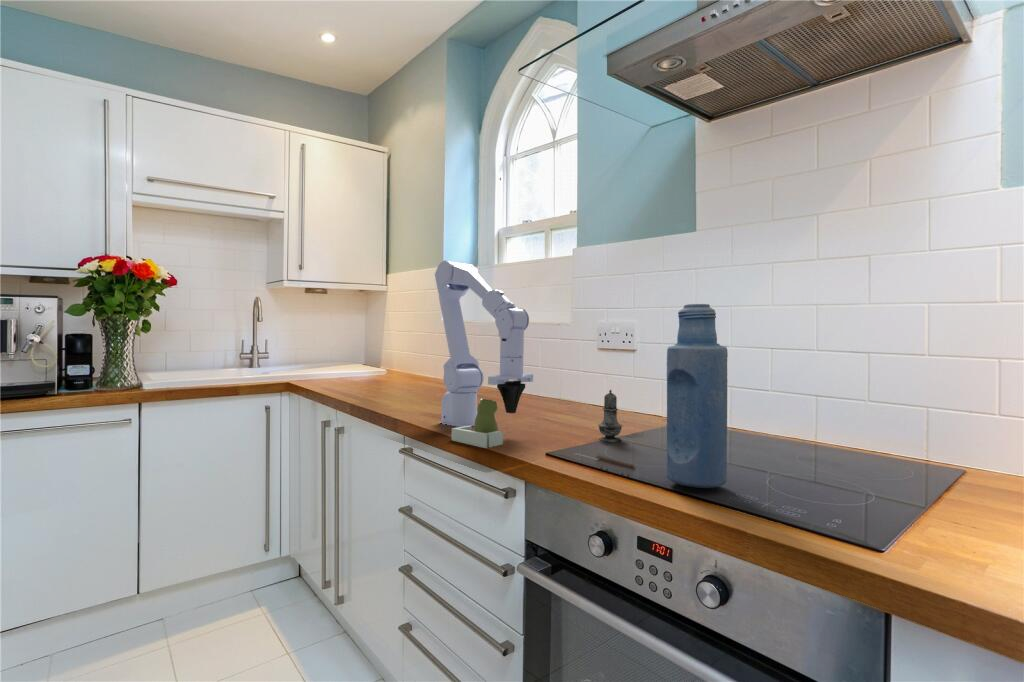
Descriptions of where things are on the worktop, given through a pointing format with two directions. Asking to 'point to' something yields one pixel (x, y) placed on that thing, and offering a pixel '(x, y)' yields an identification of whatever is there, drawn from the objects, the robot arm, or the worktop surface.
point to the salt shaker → (610, 419)
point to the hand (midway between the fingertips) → (510, 412)
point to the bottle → (697, 401)
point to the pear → (486, 417)
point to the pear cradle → (477, 437)
